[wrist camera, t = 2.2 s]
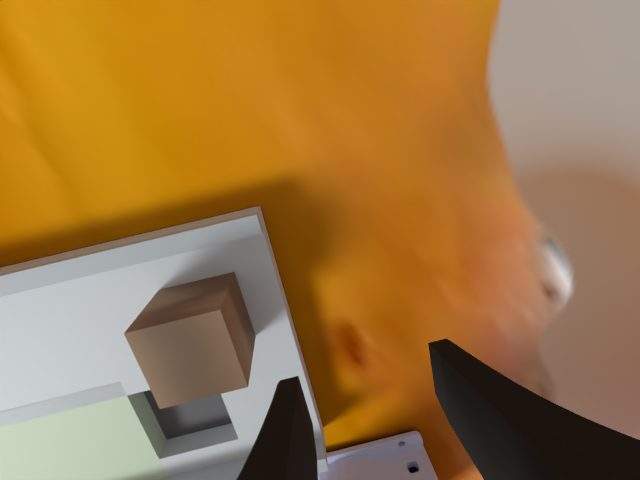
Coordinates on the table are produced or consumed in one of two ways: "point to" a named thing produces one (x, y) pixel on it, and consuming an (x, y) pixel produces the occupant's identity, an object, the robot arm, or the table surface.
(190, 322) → the walnut block
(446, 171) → the table surface
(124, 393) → the tray
